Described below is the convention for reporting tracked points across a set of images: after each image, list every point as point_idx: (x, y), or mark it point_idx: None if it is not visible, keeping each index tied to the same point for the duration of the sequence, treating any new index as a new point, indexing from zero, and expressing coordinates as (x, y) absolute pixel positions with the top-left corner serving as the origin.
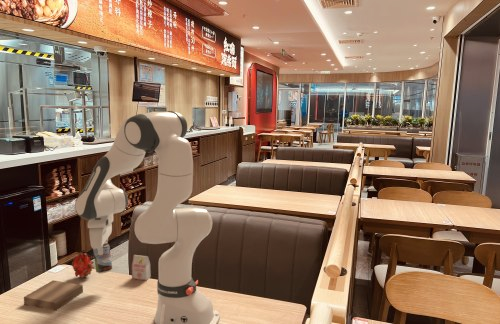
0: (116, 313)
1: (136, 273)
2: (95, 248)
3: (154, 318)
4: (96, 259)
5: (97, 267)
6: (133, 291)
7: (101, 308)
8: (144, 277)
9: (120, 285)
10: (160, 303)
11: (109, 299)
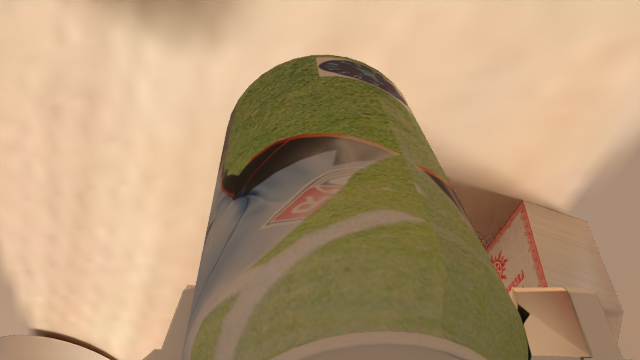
0: (27, 182)
1: (508, 265)
2: (193, 336)
3: (23, 337)
4: (218, 190)
5: (231, 130)
6: None
7: (54, 85)
8: None
9: None
10: None
11: (183, 109)
